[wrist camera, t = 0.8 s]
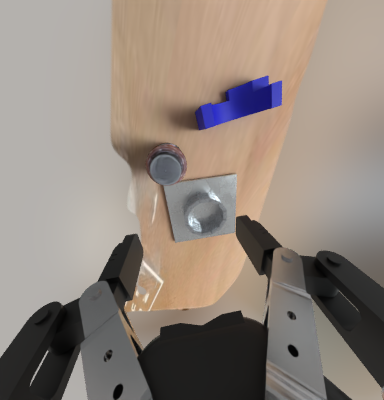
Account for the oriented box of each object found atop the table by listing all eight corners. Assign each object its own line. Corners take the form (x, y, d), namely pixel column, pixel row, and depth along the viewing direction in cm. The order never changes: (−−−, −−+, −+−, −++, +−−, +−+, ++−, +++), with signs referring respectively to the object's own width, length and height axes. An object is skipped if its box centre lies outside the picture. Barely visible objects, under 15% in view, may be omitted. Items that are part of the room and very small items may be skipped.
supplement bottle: (185, 170, 29) (191, 189, 19) (157, 175, 29) (148, 196, 18) (180, 140, 26) (185, 143, 16) (149, 144, 26) (134, 150, 16)
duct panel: (163, 183, 29) (162, 189, 26) (235, 173, 30) (243, 178, 27) (175, 240, 36) (175, 251, 33) (233, 230, 37) (239, 240, 34)
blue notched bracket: (257, 82, 24) (282, 66, 19) (259, 111, 26) (281, 105, 21) (192, 102, 24) (198, 93, 19) (198, 130, 26) (205, 128, 21)
